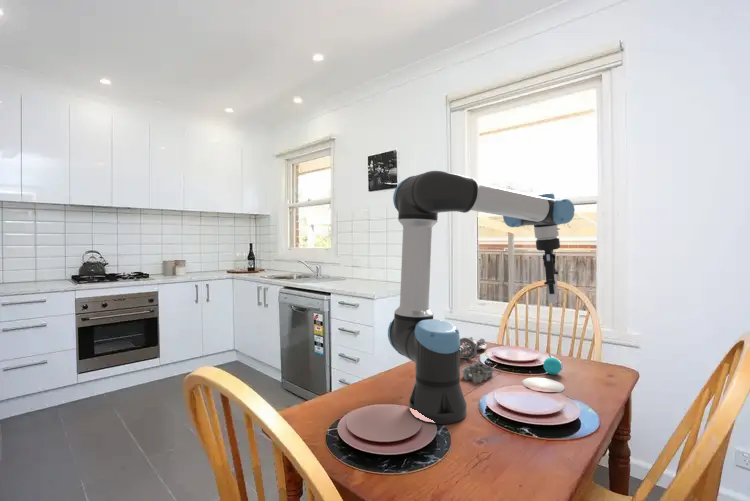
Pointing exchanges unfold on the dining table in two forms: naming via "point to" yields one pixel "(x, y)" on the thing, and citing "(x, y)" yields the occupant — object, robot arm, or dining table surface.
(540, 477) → the dining table surface
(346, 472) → the dining table surface
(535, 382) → the disc
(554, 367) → the ball
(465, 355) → the spaceship
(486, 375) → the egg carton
